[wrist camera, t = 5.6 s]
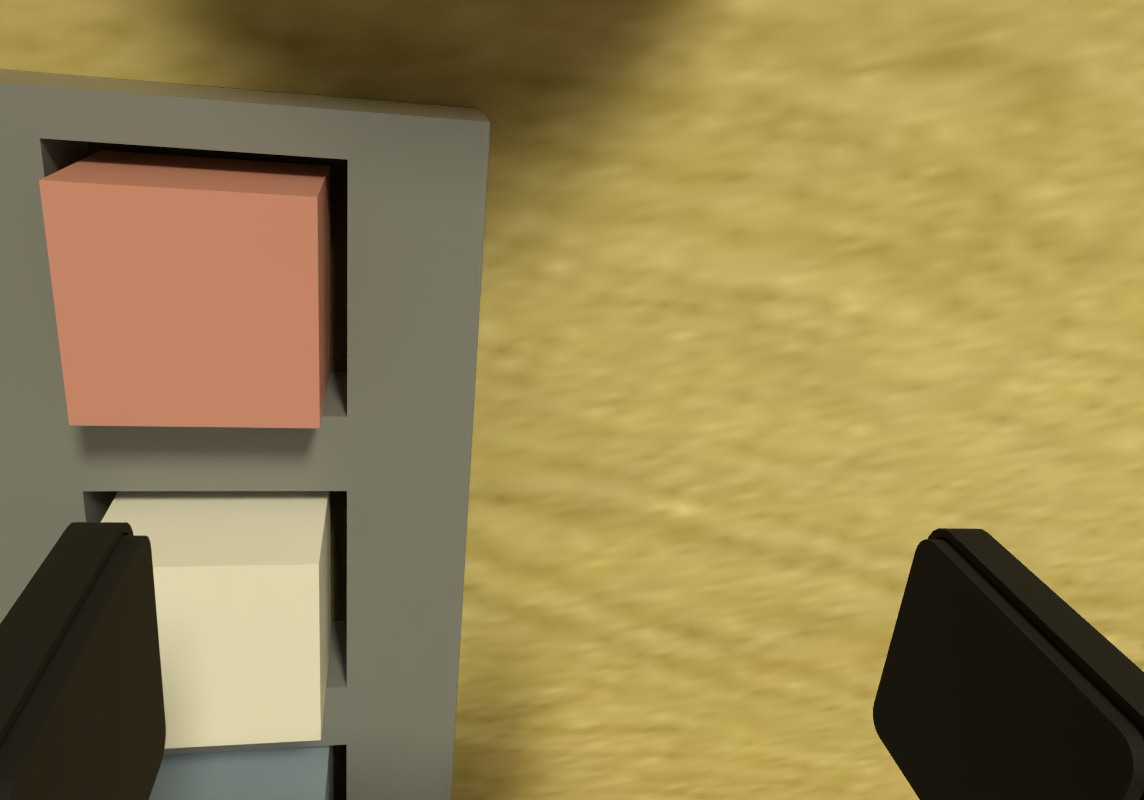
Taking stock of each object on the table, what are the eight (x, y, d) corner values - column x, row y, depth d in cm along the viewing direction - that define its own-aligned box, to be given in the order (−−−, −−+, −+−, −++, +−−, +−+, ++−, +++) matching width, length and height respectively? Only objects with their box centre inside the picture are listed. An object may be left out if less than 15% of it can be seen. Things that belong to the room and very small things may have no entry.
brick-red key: (330, 165, 22) (317, 197, 18) (331, 363, 23) (319, 428, 20) (101, 150, 21) (39, 180, 17) (121, 358, 22) (69, 425, 19)
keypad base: (478, 108, 22) (490, 121, 20) (440, 834, 31) (444, 912, 29) (-68, 63, 20) (-141, 71, 17) (59, 863, 29) (25, 951, 26)
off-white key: (330, 480, 24) (318, 564, 20) (331, 637, 26) (320, 740, 22) (124, 480, 23) (74, 568, 19) (141, 643, 25) (97, 752, 21)
